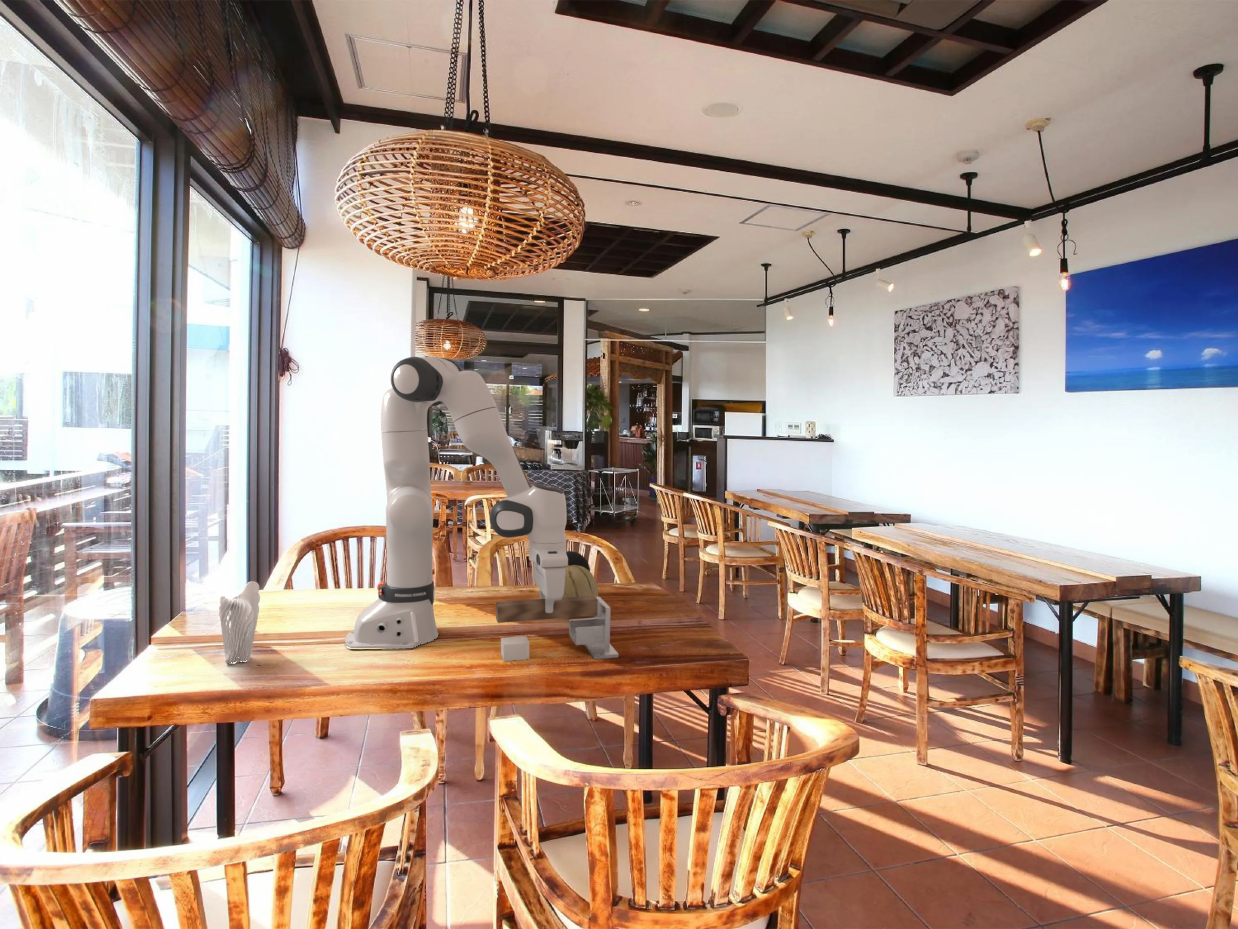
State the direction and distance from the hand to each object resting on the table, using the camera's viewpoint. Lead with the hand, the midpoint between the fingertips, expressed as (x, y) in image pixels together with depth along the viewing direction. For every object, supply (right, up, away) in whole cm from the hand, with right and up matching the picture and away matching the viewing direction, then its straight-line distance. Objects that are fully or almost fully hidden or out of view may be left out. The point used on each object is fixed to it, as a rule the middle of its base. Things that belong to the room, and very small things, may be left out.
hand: (546, 609), depth 162 cm
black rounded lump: (+1, -8, +51) cm, 52 cm away
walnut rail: (0, -2, 0) cm, 2 cm away
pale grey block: (-7, -11, -1) cm, 13 cm away
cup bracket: (+11, -11, +4) cm, 16 cm away
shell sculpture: (-69, -10, -9) cm, 70 cm away
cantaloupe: (+4, -9, +33) cm, 35 cm away
